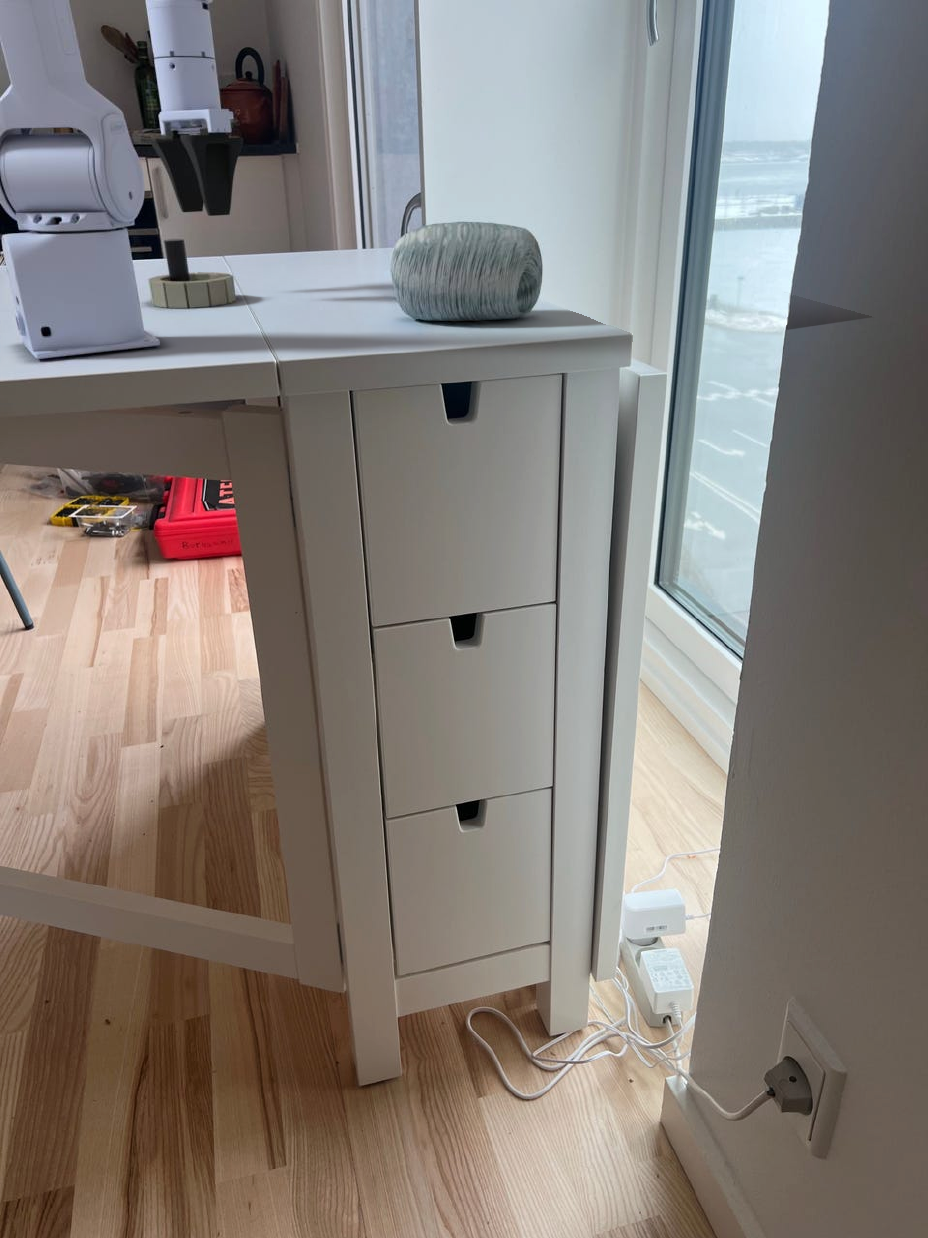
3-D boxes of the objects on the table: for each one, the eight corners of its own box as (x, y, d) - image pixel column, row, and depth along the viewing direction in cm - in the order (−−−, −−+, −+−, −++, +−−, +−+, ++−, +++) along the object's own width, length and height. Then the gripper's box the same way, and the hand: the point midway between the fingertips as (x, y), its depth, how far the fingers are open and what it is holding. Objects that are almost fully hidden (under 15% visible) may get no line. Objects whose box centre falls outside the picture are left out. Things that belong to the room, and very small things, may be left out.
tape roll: (186, 310, 91) (182, 284, 90) (136, 303, 96) (132, 279, 95) (251, 299, 97) (248, 275, 96) (201, 293, 102) (198, 270, 101)
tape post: (176, 303, 96) (166, 241, 93) (171, 300, 97) (161, 239, 95) (195, 301, 97) (186, 239, 94) (189, 298, 98) (181, 238, 95)
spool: (552, 271, 87) (526, 173, 80) (555, 334, 82) (528, 235, 74) (417, 306, 91) (379, 215, 83) (411, 369, 85) (371, 278, 78)
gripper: (253, 54, 85) (270, 214, 91) (198, 65, 96) (216, 208, 102) (179, 52, 82) (201, 218, 88) (130, 64, 92) (153, 211, 99)
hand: (205, 213), depth 95 cm, fingers open, 7 cm apart
